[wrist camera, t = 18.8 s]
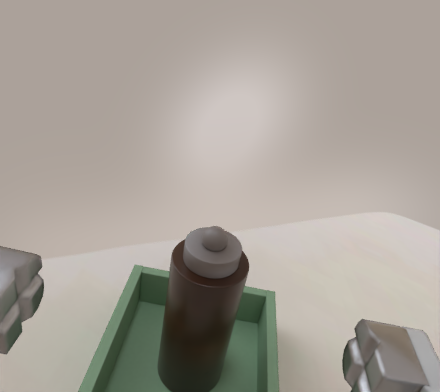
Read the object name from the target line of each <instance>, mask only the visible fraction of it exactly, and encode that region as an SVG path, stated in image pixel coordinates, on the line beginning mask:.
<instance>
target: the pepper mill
mask: <svg viewBox="0 0 440 392" xmlns="http://www.w3.org/2000/svg"><path fill="white" fill-rule="evenodd" d="M248 271H249V262H248V259H247V257H246V255H245V254H244V252H243V251H242V246H241V243H240V242H239V240H238V239H237V238H236V237H235V236H234V235H232V234H231V233H229V232H227V231H224V229H222V228H221V227H218V226H213V227H207V228H199V229H196V230H194V231H192V232H190V233H189V234H188V235H187V237H186V239H185V240H183V241H181V242H180V243H179V244H178V245H177V246H176V247H175V248H174V250H173V252H172V256H171V264H170V272H169V280H168V287H167V295H166V303H165V310H164V318H163V326H162V334H161V341H160V349H159V357H158V366H157V368H158V374H159V377H160V379H161V381H162V383H163V384H164V385H165V386H166V387H167V388H168V389H169V390H170V391H172V392H209V391H210V390H212V389H213V388H214V387H215V386H216V384H217V383H218V381H219V379H220V376H221V372H222V368H223V365H224V361H225V357H226V353H227V350H228V346H229V342H230V338H231V335H232V331H233V327H234V324H235V320H236V316H237V312H238V309H239V305H240V301H241V298H242V294H243V290H244V286H245V283H246V279H247V275H248Z"/></svg>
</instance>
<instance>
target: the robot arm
mask: <svg viewBox="0 0 440 392" xmlns="http://www.w3.org/2000/svg"><path fill="white" fill-rule="evenodd" d="M41 268H42V261H41V257H40V256H39V255H37V254H33V253H28V252H24V251H20V250H15V249H11V248H6V247H2V246H0V353H1V354H7V353H8V351H9V350H10V349H11V347H12V346H13V344H14V343H15V341H16V340H17V338H18V337H19V335H20V334H21V333H22V325H21V323H22V322H23V321H25V320H27V319H29V318H31V317H32V316H33V315H34V313H35V312H36V310H37V309H38V307H39V304H40V302H41V299H42V297H43V290H44V281H43V279H42V278H41V277H40V275H39V274H38V272H39V271H40V269H41ZM355 333H356V337H355V338H353V339H351V340H349V341H348V343H347V345H346V347H345V349H344V354H343V360H342V362H343V373H344V379H345V380H346V381H347V383H348V384H349V385H350V386H351V387H352V390H351V392H440V361H439V359H438V357H437V355H436V352H435V350H434V348H433V346H432V344H431V342H430V340H429V338H428V335H427V334H426V333H425V332H424V331H423V330H418V329H413V328H408V327H400V326H396V325H391V324H386V323H381V322H375V321H370V320H365V319H362V320H360V321H359V322H358V324H357V325H356V327H355Z"/></svg>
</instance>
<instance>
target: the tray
mask: <svg viewBox="0 0 440 392" xmlns="http://www.w3.org/2000/svg"><path fill="white" fill-rule="evenodd" d="M168 280H169V271H164V270H159V269H154V268H149V267H143V266H139V265H135V266H134V268H133V270H132V272H131V275H130V277H129V279H128V281H127V283H126V286H125V288H124V290H123V292H122V295H121V297H120V299H119V301H118V304H117V306H116V308H115V310H114V313H113V315H112V317H111V319H110V321H109V324H108V326H107V328H106V330H105V333H104V335H103V337H102V339H101V342H100V344H99V346H98V348H97V351H96V353H95V355H94V357H93V359H92V362H91V364H90V366H89V368H88V371H87V373H86V375H85V377H84V380H83V382H82V384H81V386H80V389H79V391H78V392H172V391H170V390H169V389H168V388H167V387H166V386H165V385H164V384H163V383H162V381H161V379H160V377H159V374H158V368H157V366H158V357H159V349H160V341H161V334H162V326H163V318H164V310H165V303H166V295H167V287H168ZM209 392H279V378H278V353H277V328H276V303H275V292H273V291H268V290H262V289H257V288H252V287H247V286H244V290H243V294H242V298H241V301H240V305H239V309H238V312H237V316H236V320H235V324H234V327H233V331H232V335H231V338H230V342H229V346H228V350H227V353H226V357H225V361H224V365H223V368H222V372H221V376H220V379H219V381H218V383H217V384H216V386H215V387H214V388H213V389H212V390H210V391H209Z"/></svg>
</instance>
